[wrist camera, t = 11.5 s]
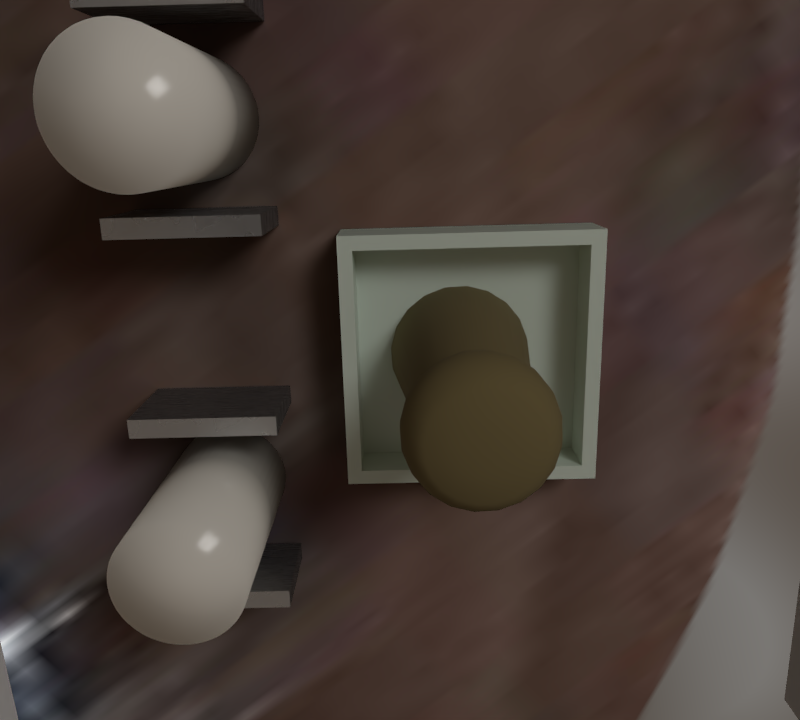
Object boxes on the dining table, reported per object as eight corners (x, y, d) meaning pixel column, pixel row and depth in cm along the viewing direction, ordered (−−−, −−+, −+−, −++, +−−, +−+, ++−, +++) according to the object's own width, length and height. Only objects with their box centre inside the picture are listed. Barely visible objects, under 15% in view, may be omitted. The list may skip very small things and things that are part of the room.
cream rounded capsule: (173, 427, 34) (97, 522, 26) (281, 425, 34) (242, 519, 26) (185, 525, 36) (116, 646, 27) (289, 522, 36) (253, 643, 27)
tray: (340, 229, 32) (336, 236, 29) (592, 222, 32) (607, 228, 29) (351, 460, 35) (348, 484, 32) (581, 455, 35) (594, 478, 32)
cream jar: (129, 54, 30) (19, 18, 21) (253, 51, 30) (194, 13, 21) (144, 182, 31) (47, 196, 23) (263, 179, 31) (211, 192, 23)
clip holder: (110, 3, 29) (67, -18, 26) (262, -1, 29) (241, -23, 26) (178, 560, 36) (152, 610, 32) (301, 557, 36) (290, 607, 32)
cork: (551, 317, 32) (623, 401, 22) (492, 437, 34) (533, 569, 23) (423, 263, 32) (434, 322, 21) (369, 388, 33) (354, 500, 23)
